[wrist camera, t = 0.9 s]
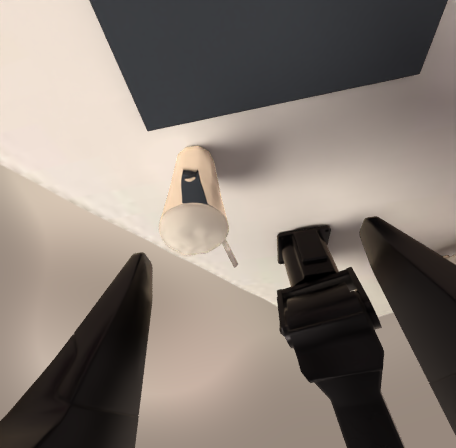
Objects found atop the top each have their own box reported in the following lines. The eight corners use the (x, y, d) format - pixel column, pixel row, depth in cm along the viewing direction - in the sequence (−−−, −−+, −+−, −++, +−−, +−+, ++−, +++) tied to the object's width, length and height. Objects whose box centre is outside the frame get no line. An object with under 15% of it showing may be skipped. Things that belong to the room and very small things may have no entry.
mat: (414, 71, 17) (420, 74, 17) (148, 128, 18) (147, 131, 18) (534, -256, 9) (550, -267, 9) (43, -112, 10) (37, -115, 10)
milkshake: (212, 192, 24) (218, 282, 17) (161, 170, 21) (144, 265, 15) (238, 157, 21) (257, 247, 14) (182, 127, 19) (173, 220, 12)
